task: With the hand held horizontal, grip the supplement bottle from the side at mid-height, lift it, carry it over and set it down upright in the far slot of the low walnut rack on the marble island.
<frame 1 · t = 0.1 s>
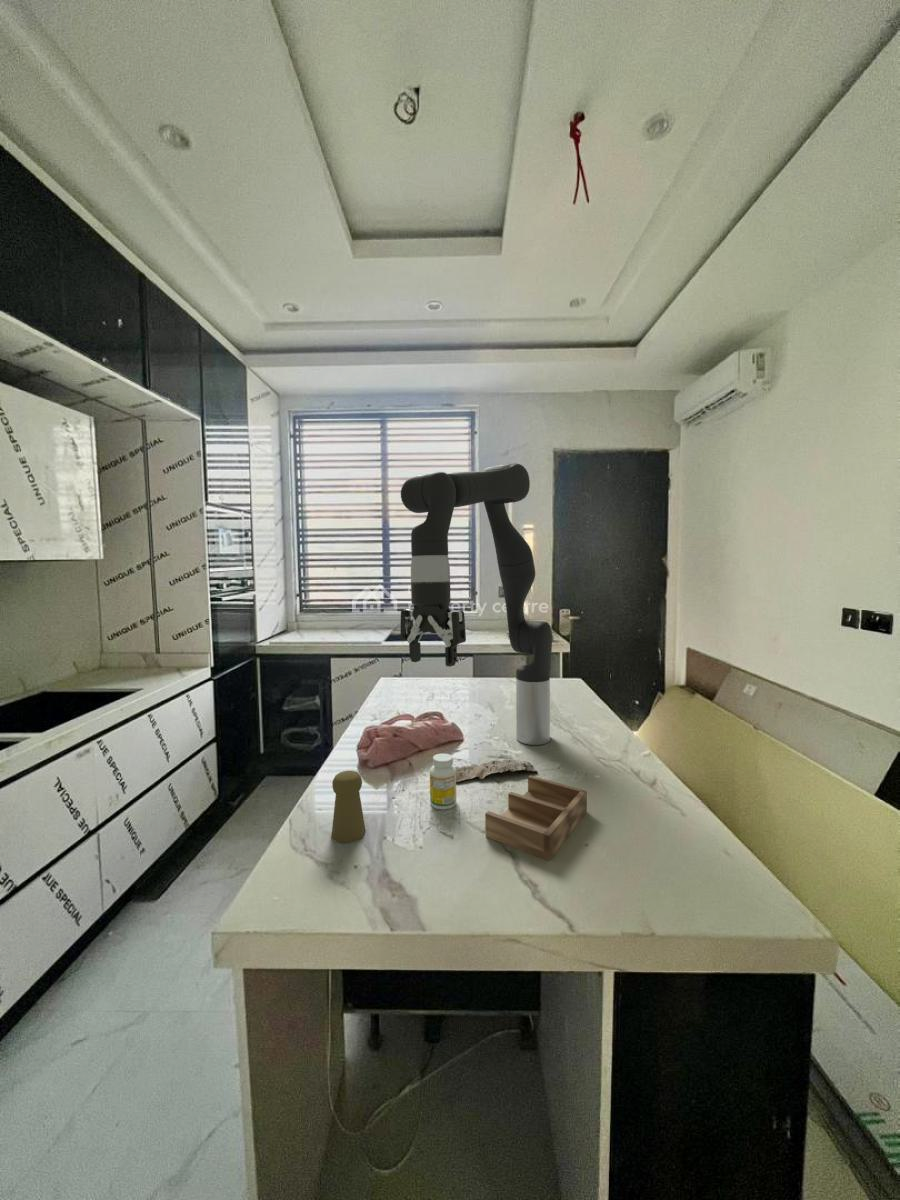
hand: (432, 663, 86), 29 cm above the countertop, tool pointing down, fingers open, 8 cm apart
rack: (538, 823, 83), on the countertop
stone fragment: (484, 777, 104), on the countertop
supplement bottle: (443, 804, 91), on the countertop
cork: (348, 834, 81), on the countertop
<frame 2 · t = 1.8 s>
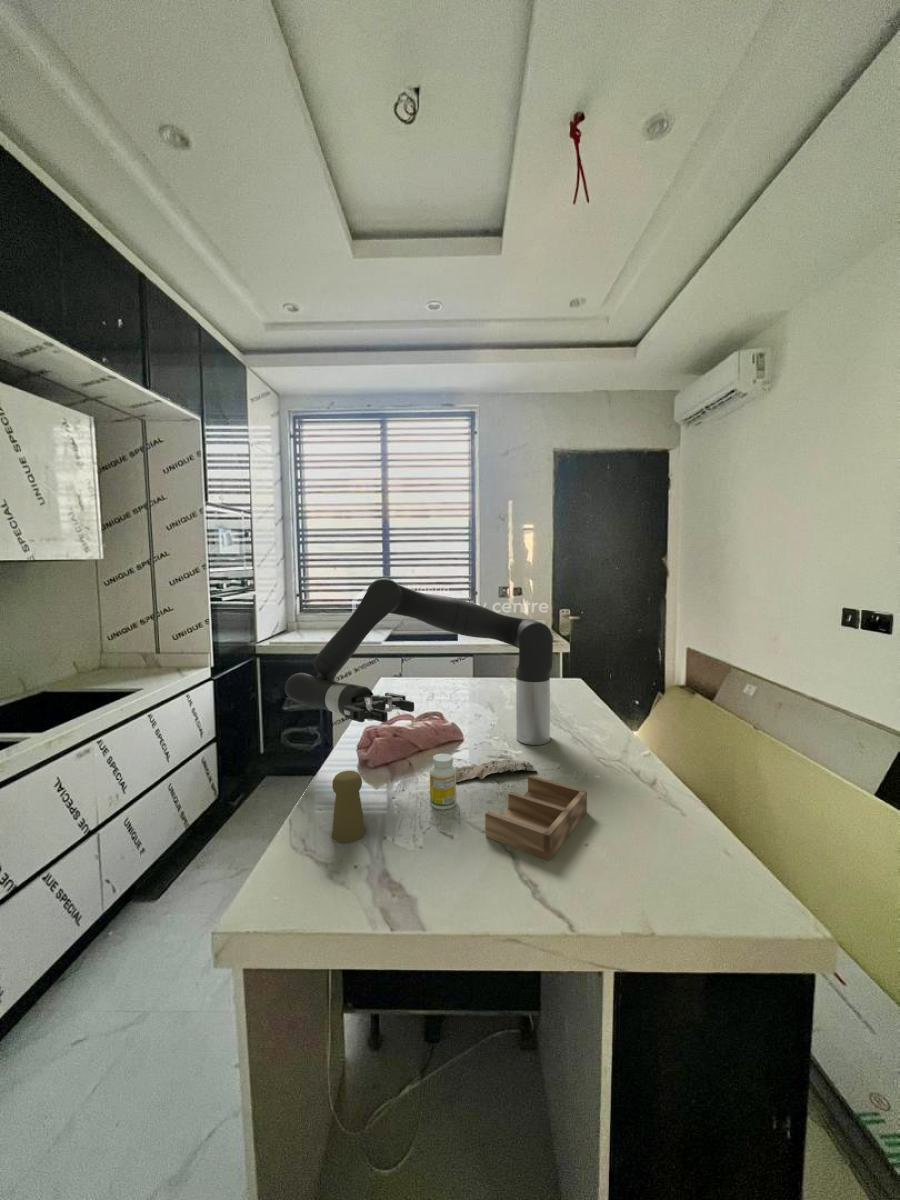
hand: (400, 712, 96), 17 cm above the countertop, tool horizontal, fingers open, 8 cm apart
nothing on the countertop moved.
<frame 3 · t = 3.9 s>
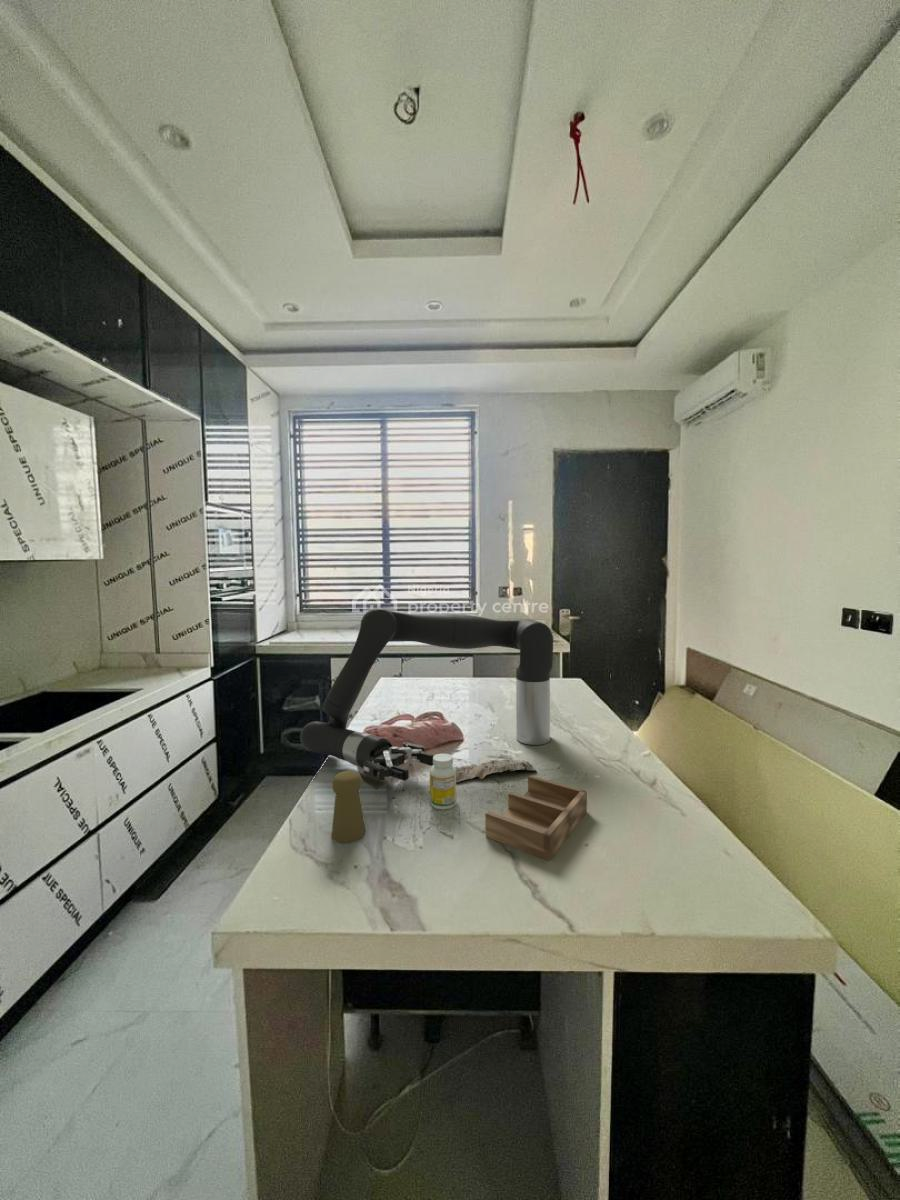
hand: (421, 767, 94), 6 cm above the countertop, tool horizontal, fingers open, 8 cm apart
nothing on the countertop moved.
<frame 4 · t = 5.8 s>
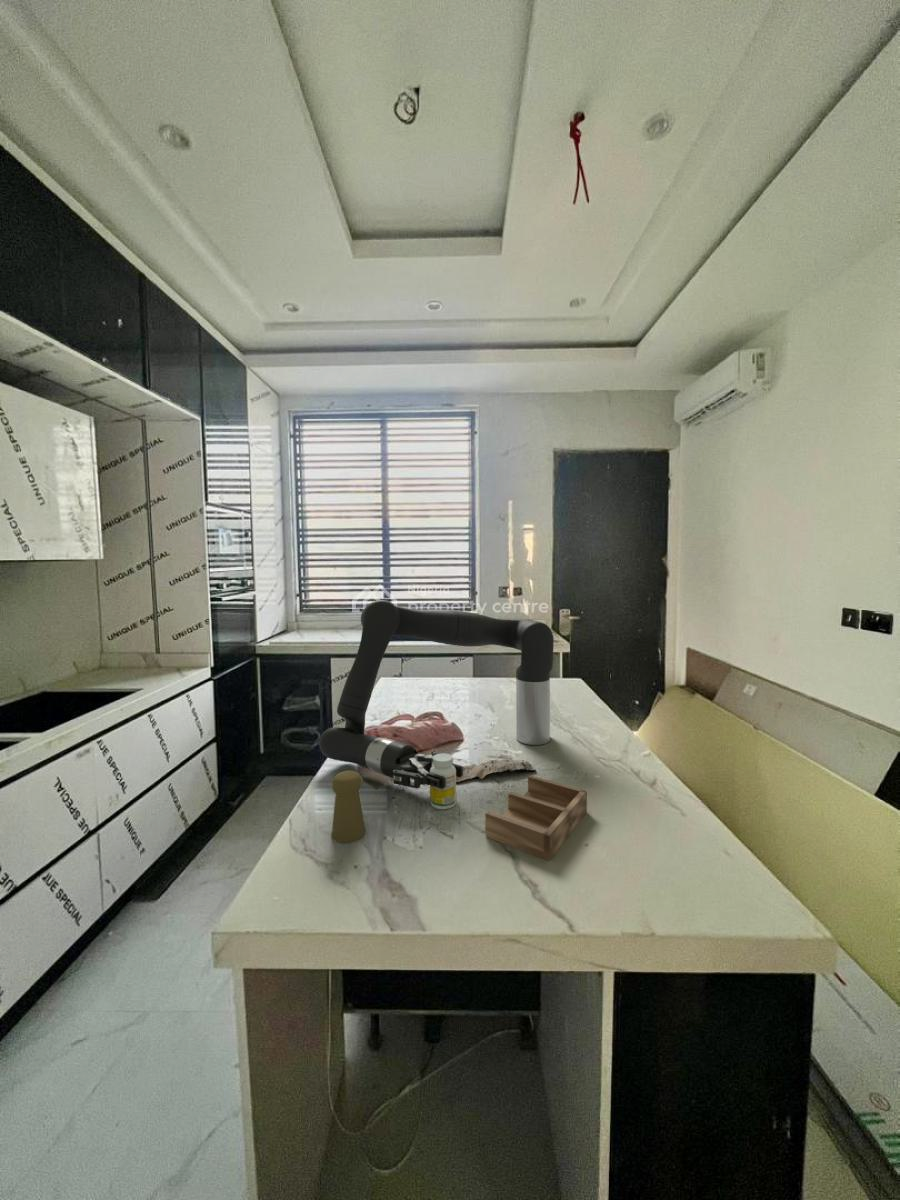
hand: (453, 777, 89), 6 cm above the countertop, tool horizontal, fingers closed on supplement bottle, 5 cm apart
supplement bottle: (443, 804, 91), on the countertop, touching gripper
everything else where it was.
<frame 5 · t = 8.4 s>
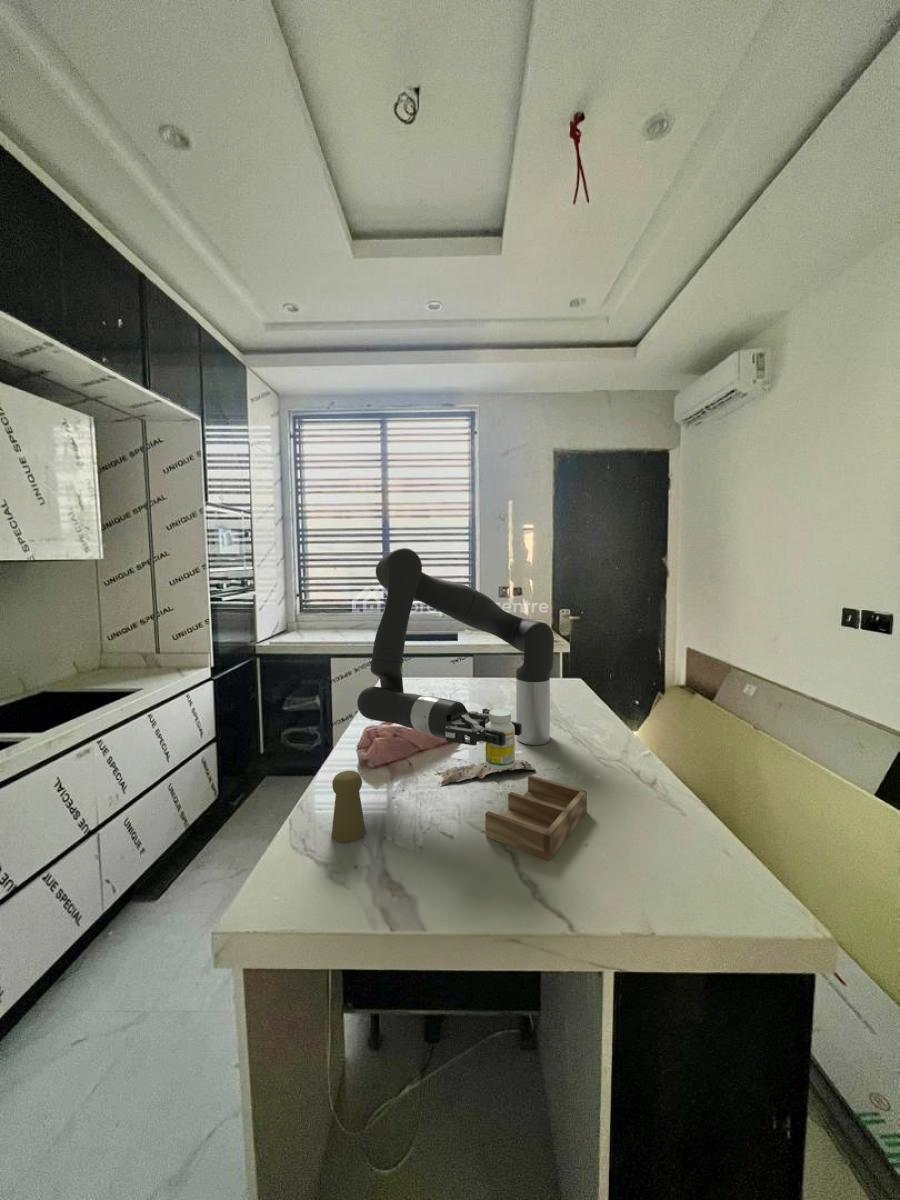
hand: (512, 734, 80), 18 cm above the countertop, tool horizontal, fingers closed on supplement bottle, 5 cm apart
supplement bottle: (500, 764, 82), point 11 cm above the countertop, touching gripper
everything else where it was.
when the fingers open (9 cm above the countertop, at t = 11.0 s): supplement bottle drops 1 cm, resting on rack.
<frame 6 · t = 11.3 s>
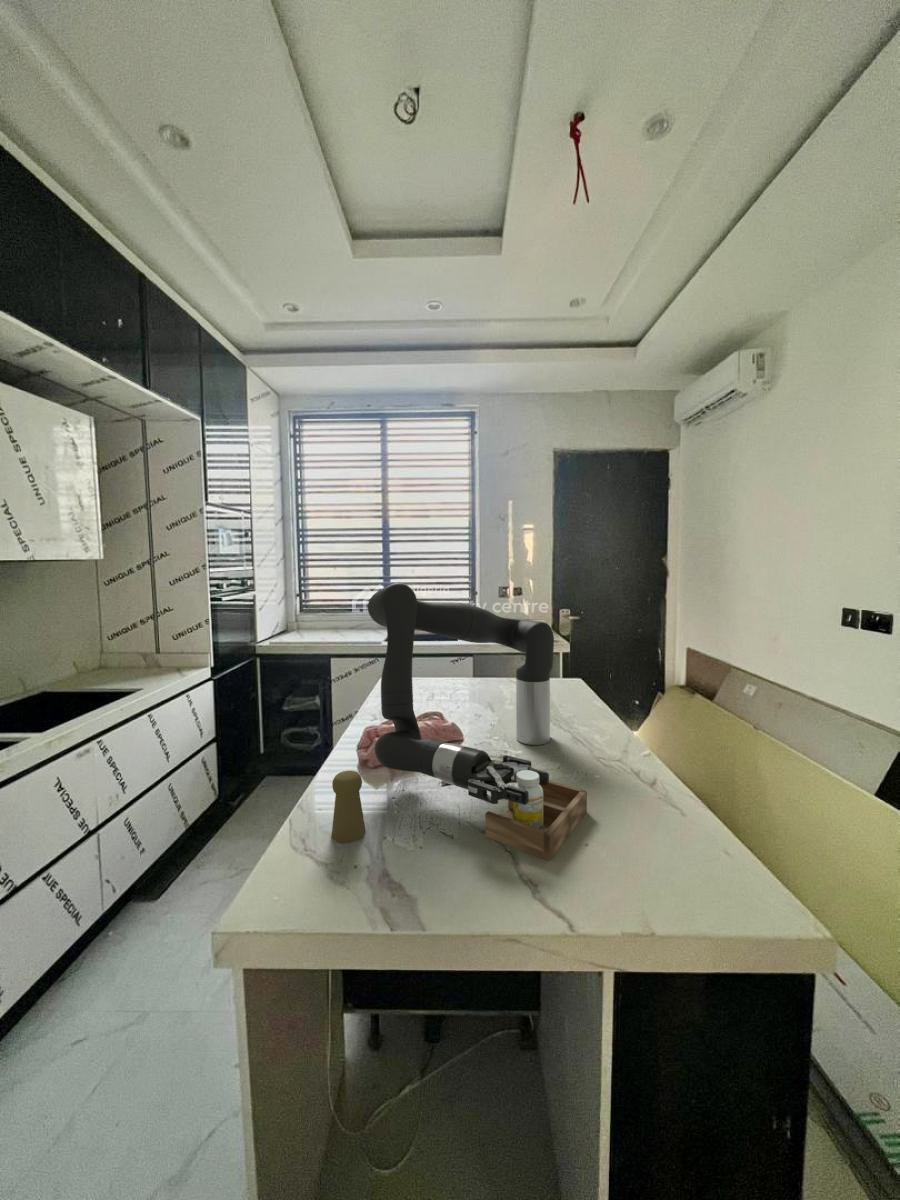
hand: (538, 788, 78), 9 cm above the countertop, tool horizontal, fingers open, 8 cm apart
supplement bottle: (528, 828, 80), point 1 cm above the countertop, touching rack
everything else where it was.
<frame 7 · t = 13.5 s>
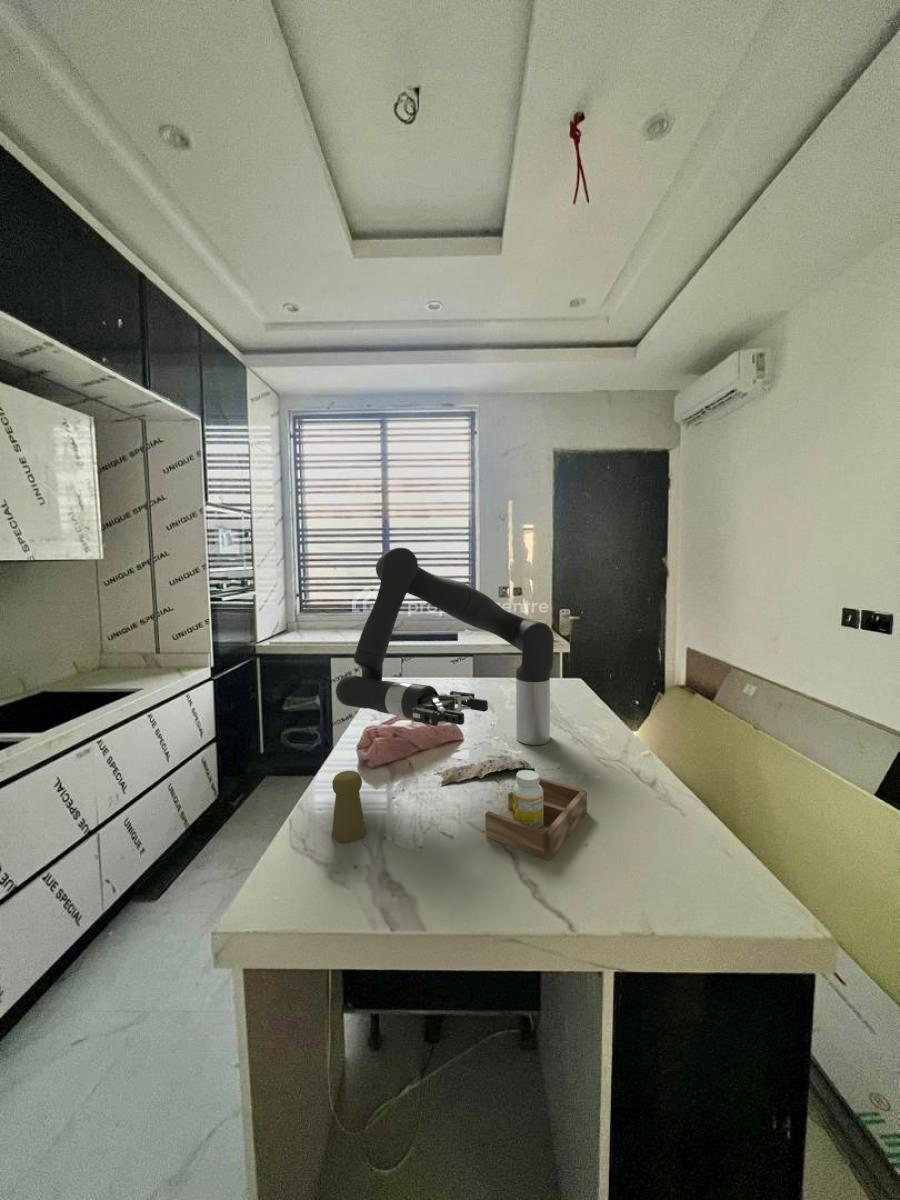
hand: (475, 712, 86), 20 cm above the countertop, tool horizontal, fingers open, 8 cm apart
nothing on the countertop moved.
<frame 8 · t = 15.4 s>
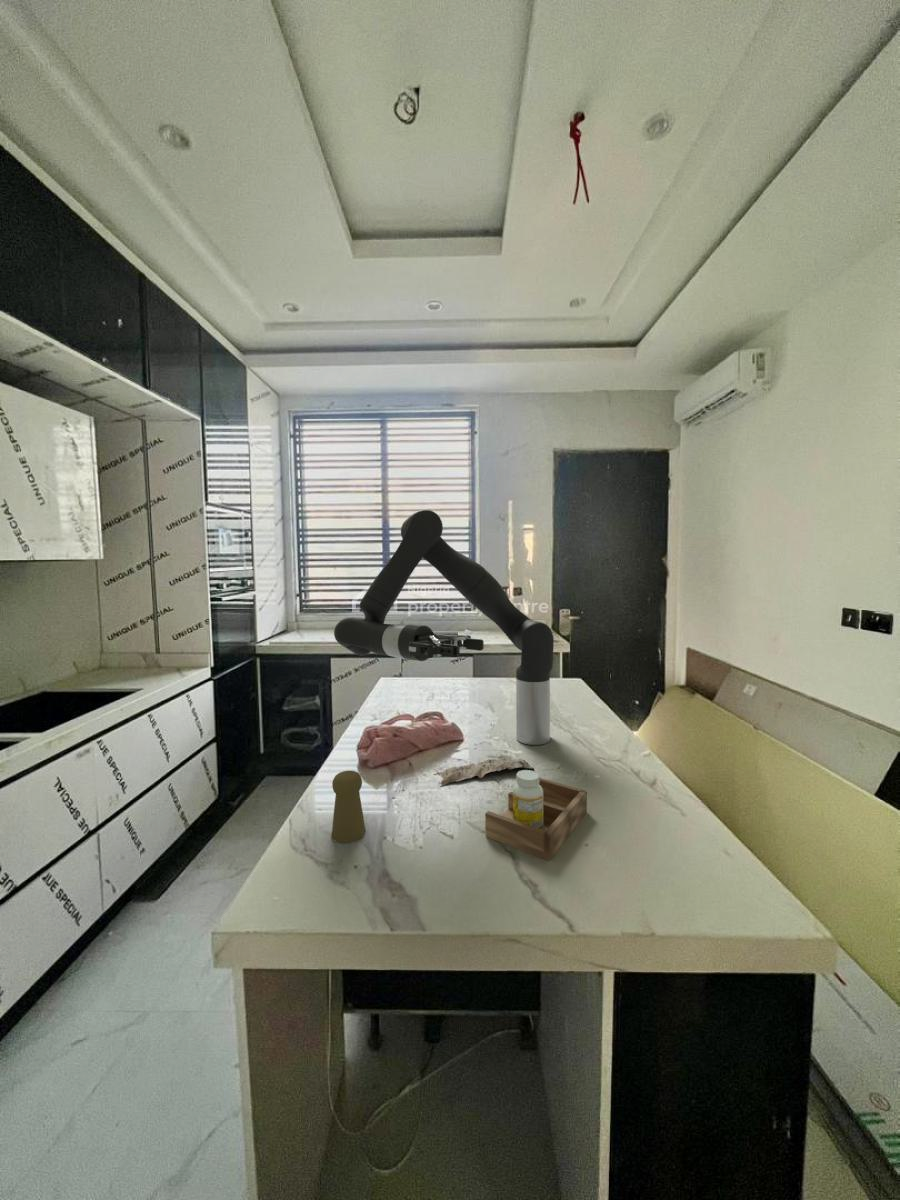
hand: (471, 648, 87), 32 cm above the countertop, tool horizontal, fingers open, 8 cm apart
nothing on the countertop moved.
at the end: supplement bottle inside the target area on the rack (0.3 cm from its centre), point 1.0 cm above the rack's base; supplement bottle tilted 0°; the gripper is holding nothing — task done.
